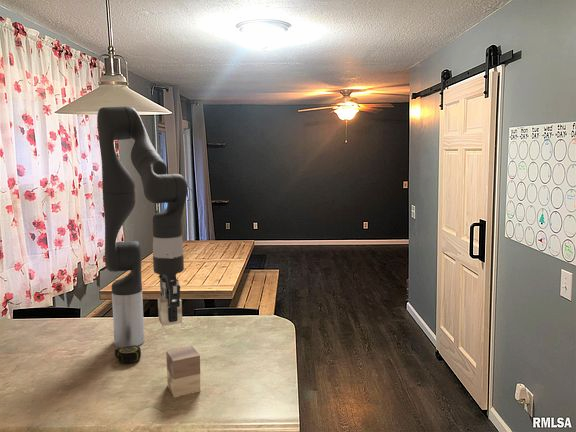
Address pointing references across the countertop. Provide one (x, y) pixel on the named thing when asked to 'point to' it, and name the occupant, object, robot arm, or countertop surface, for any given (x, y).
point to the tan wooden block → (183, 384)
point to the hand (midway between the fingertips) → (170, 317)
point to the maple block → (164, 312)
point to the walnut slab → (183, 362)
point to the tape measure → (128, 354)
